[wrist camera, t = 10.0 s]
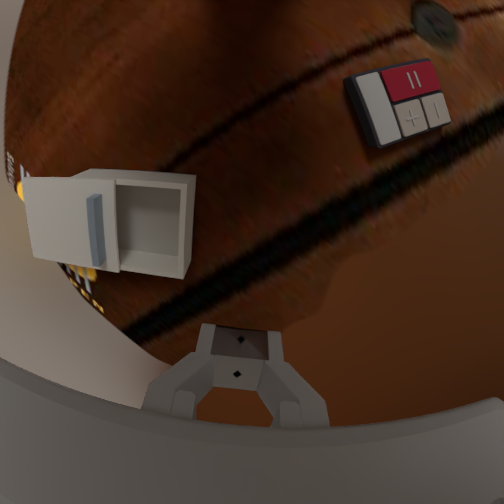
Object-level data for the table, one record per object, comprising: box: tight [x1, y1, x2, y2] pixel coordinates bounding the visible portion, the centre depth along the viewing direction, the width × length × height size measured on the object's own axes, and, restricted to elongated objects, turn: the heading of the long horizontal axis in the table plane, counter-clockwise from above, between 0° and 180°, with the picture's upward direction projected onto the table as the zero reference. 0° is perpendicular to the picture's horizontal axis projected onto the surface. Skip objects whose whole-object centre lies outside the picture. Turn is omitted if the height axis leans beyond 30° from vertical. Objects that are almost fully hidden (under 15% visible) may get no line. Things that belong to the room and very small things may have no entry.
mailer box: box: [71, 169, 196, 279], centre depth 40 cm, size 14×18×6 cm
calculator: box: [343, 58, 451, 149], centre depth 33 cm, size 11×4×15 cm
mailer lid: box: [23, 177, 120, 273], centre depth 36 cm, size 14×18×3 cm
